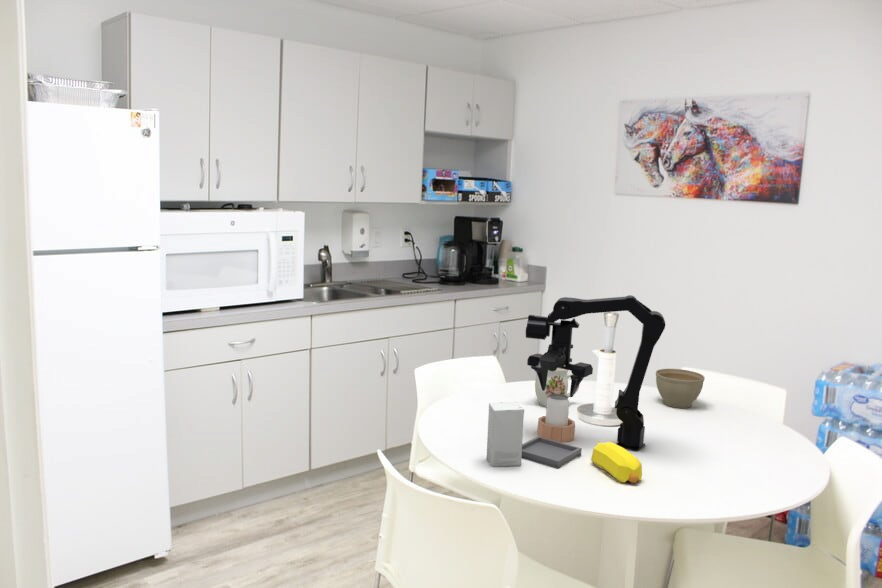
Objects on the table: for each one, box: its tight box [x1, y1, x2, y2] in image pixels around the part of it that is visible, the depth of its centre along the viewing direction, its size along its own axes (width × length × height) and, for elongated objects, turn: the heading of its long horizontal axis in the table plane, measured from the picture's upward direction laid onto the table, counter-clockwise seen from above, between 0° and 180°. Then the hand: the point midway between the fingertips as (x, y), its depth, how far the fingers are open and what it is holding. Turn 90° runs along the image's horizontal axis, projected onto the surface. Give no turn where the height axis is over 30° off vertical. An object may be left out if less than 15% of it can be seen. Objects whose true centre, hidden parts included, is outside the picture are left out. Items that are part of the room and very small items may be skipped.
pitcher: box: [534, 368, 580, 408], centre depth 249 cm, size 11×18×14 cm, turn 103°
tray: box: [521, 436, 582, 469], centre depth 202 cm, size 14×14×2 cm
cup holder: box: [536, 415, 576, 443], centre depth 218 cm, size 11×11×4 cm
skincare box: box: [486, 401, 525, 467], centre depth 194 cm, size 8×7×16 cm
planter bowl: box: [655, 368, 705, 409], centre depth 257 cm, size 16×16×11 cm
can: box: [545, 394, 570, 426], centre depth 217 cm, size 6×6×12 cm
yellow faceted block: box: [590, 441, 643, 484], centre depth 192 cm, size 18×7×8 cm
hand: (557, 393), depth 216 cm, fingers open, 9 cm apart
